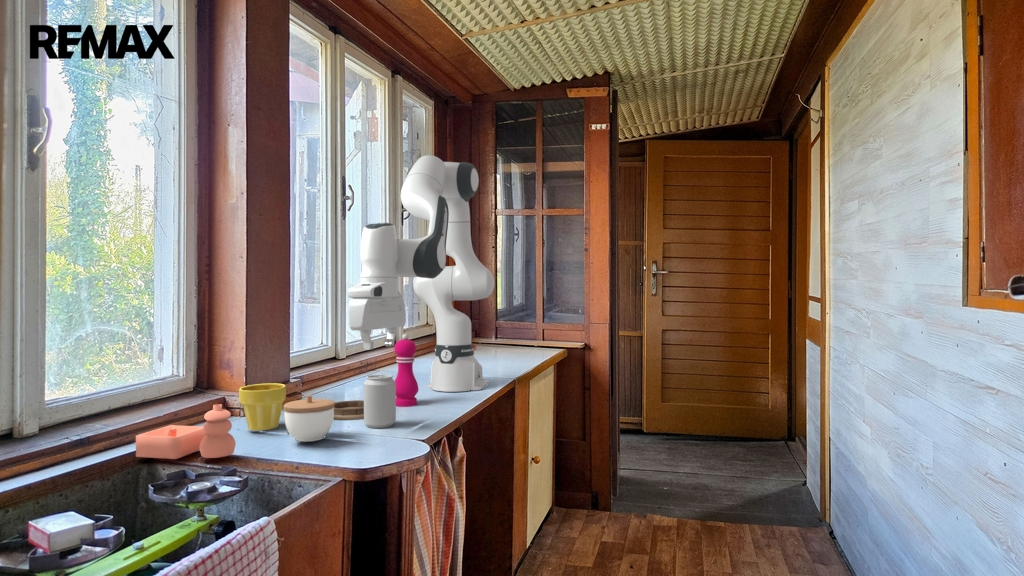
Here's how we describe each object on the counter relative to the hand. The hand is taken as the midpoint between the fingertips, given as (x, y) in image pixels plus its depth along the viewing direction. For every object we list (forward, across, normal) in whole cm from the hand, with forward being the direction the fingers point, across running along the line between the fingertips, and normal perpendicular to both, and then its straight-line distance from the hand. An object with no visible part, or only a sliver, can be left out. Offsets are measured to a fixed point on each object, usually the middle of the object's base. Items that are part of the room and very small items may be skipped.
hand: (379, 347), depth 151 cm
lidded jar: (+19, +16, -8) cm, 26 cm away
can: (+19, 0, 0) cm, 19 cm away
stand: (+18, -10, -14) cm, 25 cm away
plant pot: (+19, +10, -25) cm, 33 cm away
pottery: (+19, +33, -24) cm, 45 cm away
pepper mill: (+18, -26, -7) cm, 32 cm away
